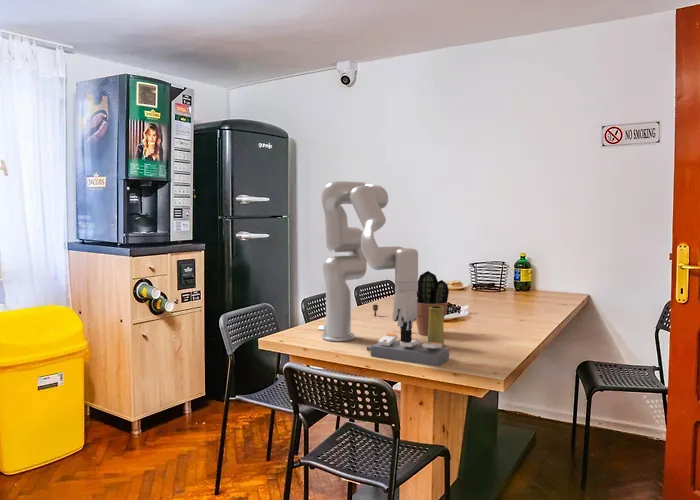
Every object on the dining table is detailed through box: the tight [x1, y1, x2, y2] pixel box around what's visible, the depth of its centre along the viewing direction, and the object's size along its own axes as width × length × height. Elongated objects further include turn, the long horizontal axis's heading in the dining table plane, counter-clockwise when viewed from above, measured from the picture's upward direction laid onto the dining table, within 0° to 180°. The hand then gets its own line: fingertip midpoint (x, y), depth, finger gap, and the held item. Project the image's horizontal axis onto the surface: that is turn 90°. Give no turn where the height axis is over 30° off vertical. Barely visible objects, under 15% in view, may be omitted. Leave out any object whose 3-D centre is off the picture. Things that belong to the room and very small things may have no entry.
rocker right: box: [422, 342, 442, 348], centre depth 176 cm, size 4×7×1 cm, turn 150°
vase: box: [427, 306, 445, 348], centre depth 195 cm, size 6×6×14 cm
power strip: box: [366, 340, 450, 367], centre depth 181 cm, size 28×10×4 cm, turn 60°
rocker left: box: [377, 333, 399, 346], centre depth 184 cm, size 4×7×1 cm, turn 150°
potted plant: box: [415, 270, 450, 337], centre depth 214 cm, size 14×14×25 cm
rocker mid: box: [399, 337, 420, 347], centre depth 180 cm, size 4×7×1 cm, turn 150°
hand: (406, 341), depth 177 cm, fingers closed
